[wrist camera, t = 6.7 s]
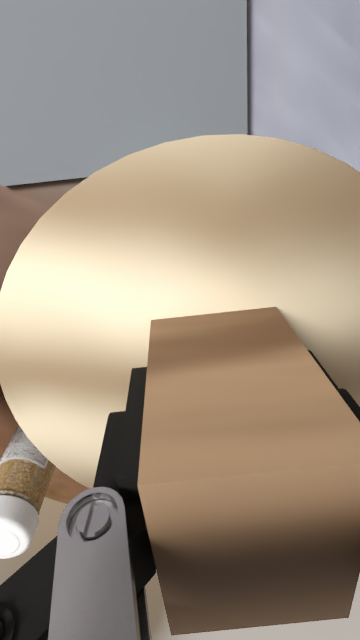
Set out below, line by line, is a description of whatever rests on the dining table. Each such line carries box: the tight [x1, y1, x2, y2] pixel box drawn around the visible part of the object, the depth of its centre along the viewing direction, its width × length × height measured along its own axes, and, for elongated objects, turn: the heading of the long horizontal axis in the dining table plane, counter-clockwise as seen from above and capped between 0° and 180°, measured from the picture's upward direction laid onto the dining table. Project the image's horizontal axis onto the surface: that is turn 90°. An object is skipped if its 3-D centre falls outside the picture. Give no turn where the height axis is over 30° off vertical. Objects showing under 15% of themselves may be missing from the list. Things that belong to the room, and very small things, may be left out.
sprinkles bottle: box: [0, 426, 56, 559], centre depth 29 cm, size 5×5×14 cm
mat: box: [0, 0, 248, 186], centre depth 21 cm, size 18×18×1 cm
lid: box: [0, 134, 360, 635], centre depth 10 cm, size 15×15×7 cm
